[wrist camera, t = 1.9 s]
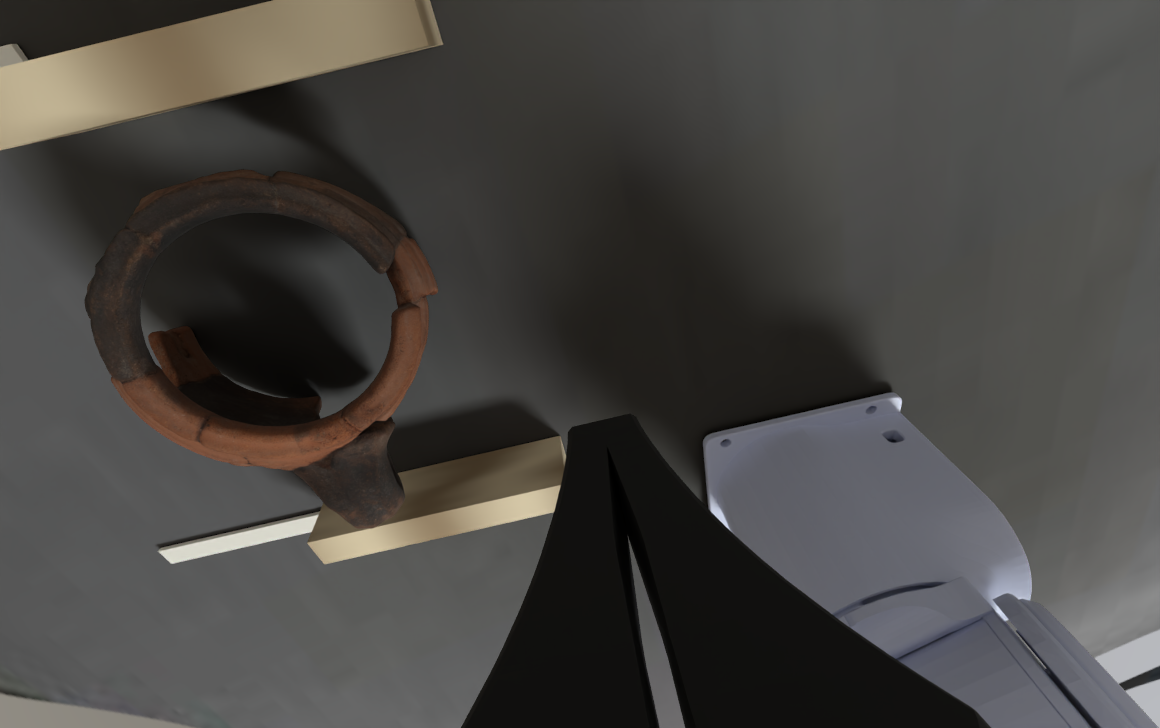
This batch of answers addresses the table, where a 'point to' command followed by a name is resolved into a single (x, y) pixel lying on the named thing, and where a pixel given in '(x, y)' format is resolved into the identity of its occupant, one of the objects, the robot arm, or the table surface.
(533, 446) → the cradle
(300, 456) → the pottery mug
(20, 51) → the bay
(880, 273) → the table surface
